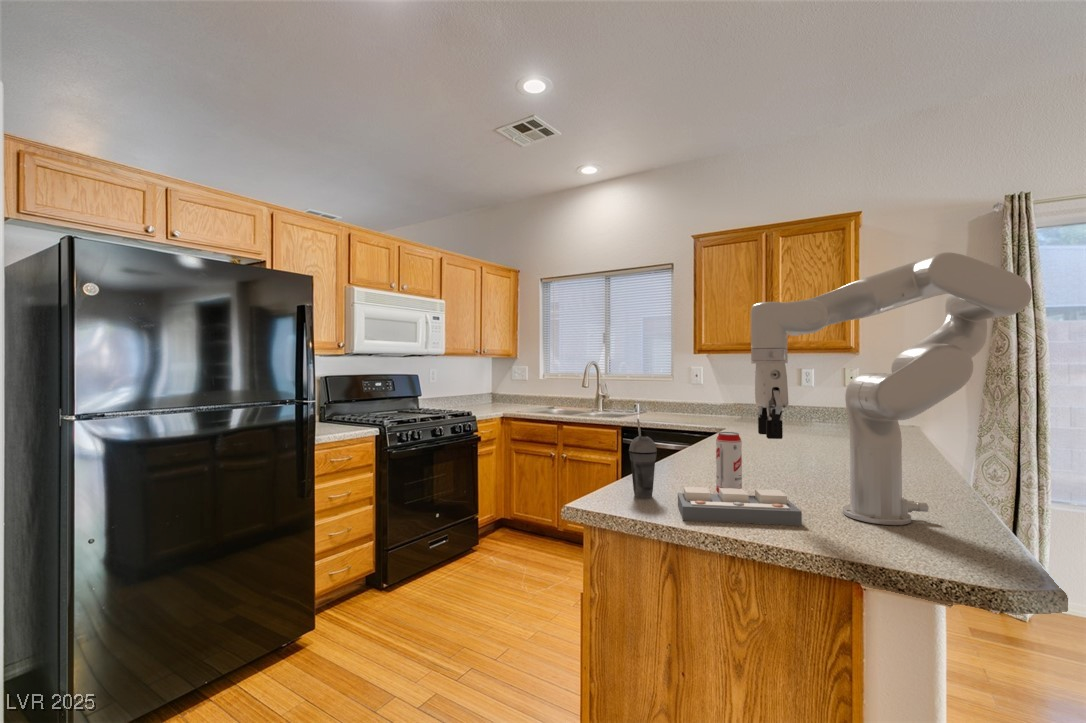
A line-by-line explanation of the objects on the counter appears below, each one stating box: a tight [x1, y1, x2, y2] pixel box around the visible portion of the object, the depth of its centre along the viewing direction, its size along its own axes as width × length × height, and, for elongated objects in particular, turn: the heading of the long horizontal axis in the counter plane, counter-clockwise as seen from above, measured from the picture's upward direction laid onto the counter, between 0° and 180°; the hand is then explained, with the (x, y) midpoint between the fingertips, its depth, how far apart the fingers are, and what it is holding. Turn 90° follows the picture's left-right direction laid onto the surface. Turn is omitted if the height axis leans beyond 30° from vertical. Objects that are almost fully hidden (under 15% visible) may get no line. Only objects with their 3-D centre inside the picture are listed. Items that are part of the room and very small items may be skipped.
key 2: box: [754, 488, 788, 505], centre depth 113 cm, size 5×5×3 cm
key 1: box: [683, 486, 712, 502], centre depth 116 cm, size 5×5×3 cm
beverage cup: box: [628, 418, 658, 500], centre depth 129 cm, size 7×7×20 cm
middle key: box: [718, 488, 750, 503], centre depth 114 cm, size 5×5×3 cm
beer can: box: [715, 431, 743, 494], centre depth 130 cm, size 6×6×16 cm
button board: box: [677, 492, 803, 527], centre depth 112 cm, size 24×12×4 cm, turn 80°
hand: (769, 435), depth 113 cm, fingers open, 6 cm apart
